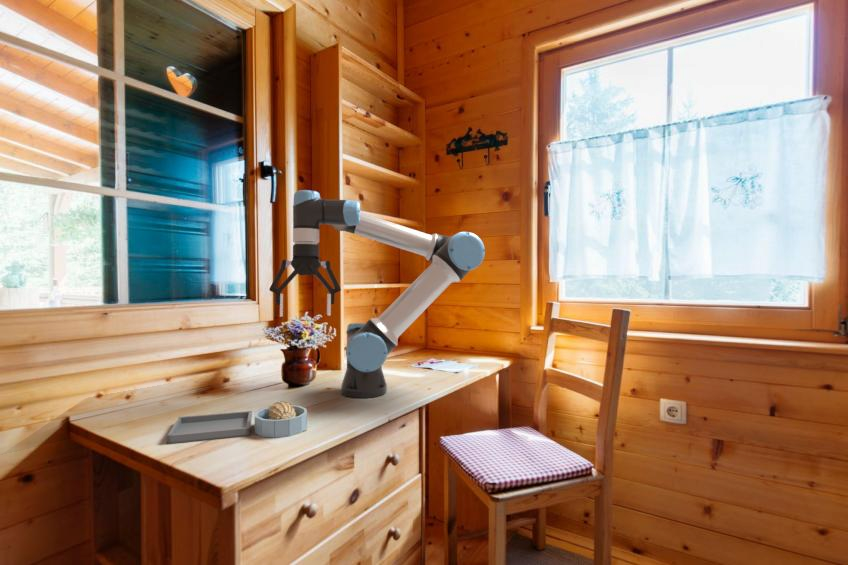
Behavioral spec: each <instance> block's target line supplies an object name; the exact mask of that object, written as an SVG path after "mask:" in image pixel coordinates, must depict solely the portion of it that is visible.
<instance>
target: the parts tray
mask: <svg viewBox="0 0 848 565" xmlns="http://www.w3.org/2000/svg"><path fill="white" fill-rule="evenodd" d="M252 412H253V410H246V411H236V412H234V411H233V412H224V413H215V414H214V413H211V414H202V415H201V414H200V415H198V414H197V415H189V416H178V418H177V420H176V421H175V422H174V424H173V426H172V427H171V428H170V431H169V432H168V433H167V435H166V445H168V444H170V445H172V444H179V443H190V442H201V441H208V440H209V441H210V440H220V439H230V438H239V437H240V438H242V437H248V436H250V435H251V425H252V418H253V417H252V416H253V415H252V414H253V413H252Z"/></svg>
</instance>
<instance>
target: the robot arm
mask: <svg viewBox="0 0 848 565" xmlns="http://www.w3.org/2000/svg"><path fill="white" fill-rule="evenodd" d="M292 211H293V212H292V224H293V227H292V243H293V245H292V260H286V259H282V260H281V263H280V264H281V265H280V268H279V270H278V272H277V274H275V278H274V279H273V281H272V283H271V284H270V287H269V291H270V292H272V293H274V294H275V304H276V305H277V306H279V317H284V294H283V293H282V291H284V289H286V287H287V286H288V284H289V283H291V281H292V280H294V278H295V277H297V275H299V276H315V277H316V278H317V280H319V282H320V283H321V284H322V285H323V286H324V287H325V289H327V291H328V292H329V293H326V296H327V297H326V315H327V316H329V317H330V316H331V314H332V310H331V308H332V305H334V304H335V294H336V293H338V292H341V289H342V288H341V286H340V285H339V283H338V281H337V279H336V276H335V275H334V272H333V271H332V270H333V269H332V268H331V261H330V260H326V261H320V246H319V245H318V244H319V243H320V225H322V226H323V225H329V226H332V227H333V228H334V230H337V231H340V232H347V233H350V234H353V235H356V236H360V237H363V238H366V239H370V240H372V241H376V242H378V243H382V244H385V245H387V246H388V245H389V246H391V247H394V248H397V249H400V250H403V251H407V252H411V253H414V254H417V255H419V256H422V257H424V258H425V260H426V261H429V262H431V264H430V265H429V266H428V267H426V269H425V270H424V271H423V272H422V273H421V274H420V275H419V276H418V277H417V278H416V279H415V280H413V282H412V283H411V284H410V285H409V286H408V287H407V288H406V289H405V290H404V291H403V292H402V293H400V295H399V296H397V298H396V299H395V300H394V301H393V302H392V303H391V304H390V305H389V306H388V307H387V308H386V309H385V310H384V311H383V312H382V313H381V314H380V315H379V316H378V317H375V318H374V317H373V318H372V317H371V318H369V319H368V320H367V321H366V322H357V323H356V322H355V323H349V324H347V327H346V348H345V355H346V371H345V372H344V376H343V380H342V383H341V386H340V393H341V395H343V396H345V397H349V398H359V399H365V398H375V397H380V396H383V395H385V394H386V393H387V391H388V387H387V382H386V379H385V375H384V372H383V365H384V364H385V362H386V361H387V357H388V356H389V355H390V353H391V352H393V350H395V348H397V346H398V344H399V343H398V342H399V341H398V340H399V337H400V336H402V334H403V333H404V332H405V331H406V330H407V329H408V328H409V327H410V326H411V325H412V324H413V323H414V322H415V321H416V320H417V319H418V318H419V317H420V316H421V315H422V314H423V312H425V310H427V308H428V307H429V306H430V305H431V304H432V303H433V302H434V301H435V300H436V299H438V297H439V296H441V294H442V293H443V292H445V290H446V289H447V288H448V287H449V286H450V285H451V284H452V283H460V282H461V281H462V280H463V279H464V278H465V276H467V274H468V273H469V272H471V271H473V270H475V269H477V268H478V267H480V265H481V264H482V263H483V260H484V259H485V254H486V251H485V250H486V248H485V245H484V242H483V241H482V239H481V238H480V237H479V236H478V235H477V234H475V233H473V232H470V231H460V232H457V233H456V234H454V235H442V234H439V233H432V234H429V233H426V232H422V231H420V230H416V229H414V228H411V227H407V226H404V225H401V224H398V223H395V222H391V221H389V220H387V219H383V218H380V217H376V216H373V215H370V214H367V213H364V212H361V203H360V202H359V201H358V200H352V199H351V200H350V199H330V198H329V199H327V198H321V195H320V192H318V191H316V190H310V189H309V190H308V189H303V190H302V189H301V190H296V191H295V192H294V193H293V204H292ZM289 266H291V267H292V269H293V271H292V272H291V273H290V274H289V275H288V276H287V278H286V279H285V280H284V281H283V282H282V283H281V284H280V285H279V287H277V284H279V281H280V279H281V278H282V276H283V274H284V272H285V270H286V269H287V268H288V267H289ZM320 267H322V268H323V269H325V271H326V273H327V275H328V278H329V279H330V282H331V283H332V285H333V287H334V288H333V287H332V286H331V284H329V282H328V281H327V279H325V277H324V276H323V275H322V273H320V271H319V269H320ZM276 287H277V288H276Z"/></svg>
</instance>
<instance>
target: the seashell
mask: <svg viewBox="0 0 848 565" xmlns="http://www.w3.org/2000/svg"><path fill="white" fill-rule="evenodd" d="M268 416H269V419H270V420H280V419H289V418H293V417H296V413H295V409H294V408H293V407H292V404H291V403H290V402H287V401H283V400H282V401H280V400H279V401H277V402H274V403H273V404H272V405H270V408H269V414H268Z"/></svg>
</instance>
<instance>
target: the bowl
mask: <svg viewBox="0 0 848 565" xmlns="http://www.w3.org/2000/svg"><path fill="white" fill-rule="evenodd" d="M291 405H292V404H291ZM292 407H293V408H294V409H295V413H296V417H293V418H289V419H280V420H270V419H269V416H268V414H269V408H270V407H265V408H261V409H260V410H258V411H255V413H254V435H255V434H256V435H257V436H260V437H262V438H263V437H264V438H284V437H291V436H294V435H297V434H300V433H303V432H304V431H305V430H307V429H308V410H307V408H306V407H304V406H300V405H292Z"/></svg>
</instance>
